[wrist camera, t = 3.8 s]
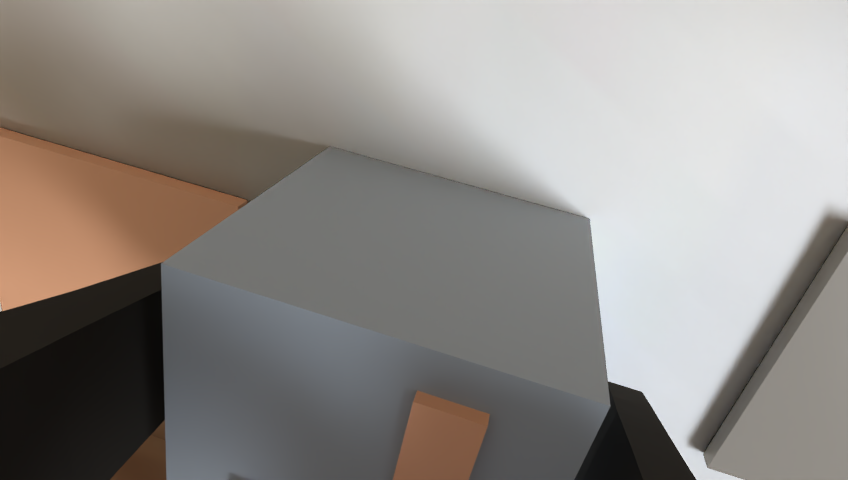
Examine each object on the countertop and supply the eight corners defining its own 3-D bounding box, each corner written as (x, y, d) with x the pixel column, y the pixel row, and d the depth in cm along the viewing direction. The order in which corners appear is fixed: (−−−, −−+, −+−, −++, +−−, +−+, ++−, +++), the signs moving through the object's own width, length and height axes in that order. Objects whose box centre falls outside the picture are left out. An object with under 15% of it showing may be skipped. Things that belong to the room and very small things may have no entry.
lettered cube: (513, 415, 13) (482, 676, 8) (305, 347, 14) (160, 551, 9) (589, 217, 11) (611, 419, 6) (331, 145, 11) (149, 271, 6)
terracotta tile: (235, 420, 16) (228, 430, 15) (22, 347, 16) (10, 354, 16) (247, 200, 12) (238, 206, 12) (-19, 121, 13) (-35, 125, 13)
